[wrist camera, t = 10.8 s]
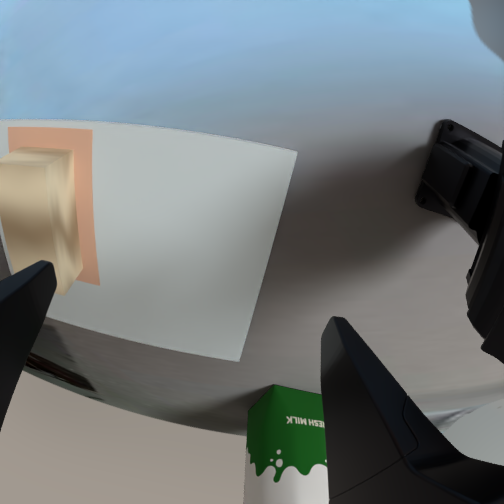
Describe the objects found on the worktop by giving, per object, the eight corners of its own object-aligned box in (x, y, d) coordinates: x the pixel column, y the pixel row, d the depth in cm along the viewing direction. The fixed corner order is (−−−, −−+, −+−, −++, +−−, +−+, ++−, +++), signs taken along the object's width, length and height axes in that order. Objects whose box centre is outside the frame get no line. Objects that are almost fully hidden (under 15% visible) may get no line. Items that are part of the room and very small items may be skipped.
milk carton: (338, 392, 33) (356, 557, 16) (299, 424, 38) (303, 562, 21) (269, 377, 31) (267, 567, 14) (237, 412, 36) (227, 563, 19)
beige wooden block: (83, 268, 23) (64, 295, 20) (37, 257, 23) (16, 281, 20) (73, 149, 18) (44, 167, 15) (21, 146, 17) (-9, 163, 15)
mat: (297, 151, 18) (297, 153, 18) (239, 358, 29) (238, 362, 29) (-12, 120, 16) (-16, 121, 16) (24, 305, 27) (21, 308, 27)
